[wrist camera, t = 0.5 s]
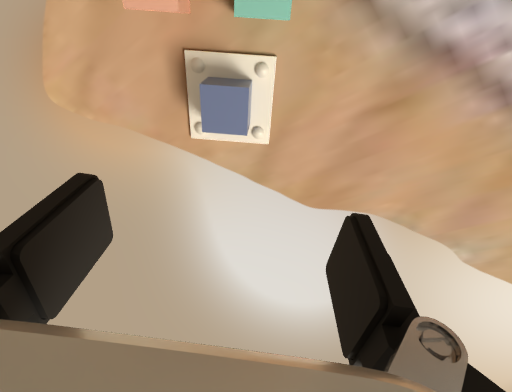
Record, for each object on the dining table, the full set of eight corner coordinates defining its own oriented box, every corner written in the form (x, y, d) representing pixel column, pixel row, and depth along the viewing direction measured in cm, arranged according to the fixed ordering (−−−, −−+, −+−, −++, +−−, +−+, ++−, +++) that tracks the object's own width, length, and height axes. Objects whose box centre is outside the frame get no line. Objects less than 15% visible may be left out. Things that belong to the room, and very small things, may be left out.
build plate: (185, 49, 35) (171, 54, 31) (276, 56, 35) (276, 61, 30) (191, 136, 42) (181, 151, 37) (268, 142, 42) (267, 158, 37)
